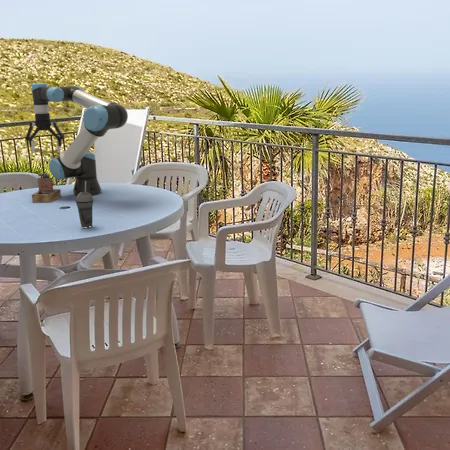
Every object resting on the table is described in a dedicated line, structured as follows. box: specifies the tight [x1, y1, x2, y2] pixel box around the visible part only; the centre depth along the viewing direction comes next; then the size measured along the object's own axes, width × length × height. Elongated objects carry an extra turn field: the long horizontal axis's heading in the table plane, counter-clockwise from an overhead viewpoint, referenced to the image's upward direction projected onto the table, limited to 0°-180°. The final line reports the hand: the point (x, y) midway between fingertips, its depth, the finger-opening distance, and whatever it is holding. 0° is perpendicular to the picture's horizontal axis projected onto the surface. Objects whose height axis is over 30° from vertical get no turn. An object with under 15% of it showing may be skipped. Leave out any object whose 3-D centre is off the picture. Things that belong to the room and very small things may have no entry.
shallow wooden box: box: [31, 188, 62, 204], centre depth 271 cm, size 10×14×4 cm
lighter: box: [37, 172, 54, 193], centre depth 269 cm, size 8×3×10 cm, turn 84°
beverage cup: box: [75, 181, 94, 228], centre depth 217 cm, size 7×7×20 cm
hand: (46, 152), depth 278 cm, fingers open, 13 cm apart
